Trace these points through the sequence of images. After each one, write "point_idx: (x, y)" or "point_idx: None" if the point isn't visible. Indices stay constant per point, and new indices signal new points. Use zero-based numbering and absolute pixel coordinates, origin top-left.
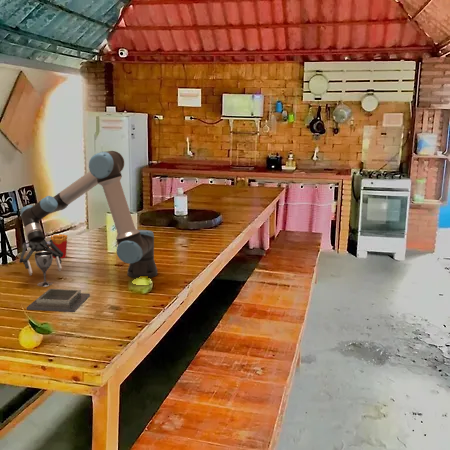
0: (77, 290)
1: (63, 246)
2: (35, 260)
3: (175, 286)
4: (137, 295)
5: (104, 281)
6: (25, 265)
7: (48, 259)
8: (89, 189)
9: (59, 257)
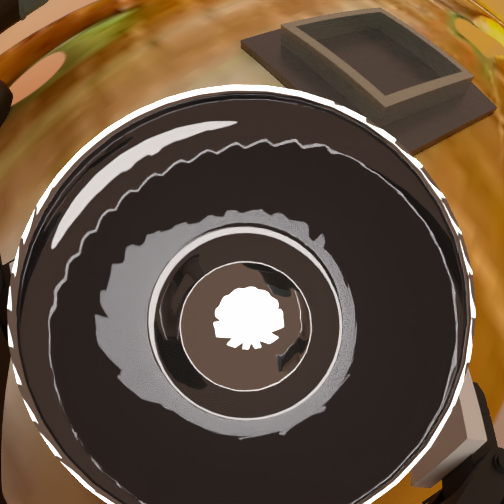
0: (294, 28)
1: None
2: (398, 369)
3: (61, 24)
4: (156, 6)
5: (58, 135)
6: (482, 416)
7: (255, 149)
8: None
9: (8, 270)
